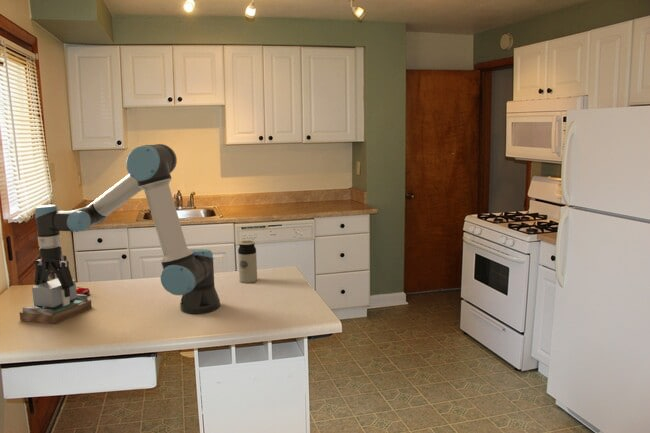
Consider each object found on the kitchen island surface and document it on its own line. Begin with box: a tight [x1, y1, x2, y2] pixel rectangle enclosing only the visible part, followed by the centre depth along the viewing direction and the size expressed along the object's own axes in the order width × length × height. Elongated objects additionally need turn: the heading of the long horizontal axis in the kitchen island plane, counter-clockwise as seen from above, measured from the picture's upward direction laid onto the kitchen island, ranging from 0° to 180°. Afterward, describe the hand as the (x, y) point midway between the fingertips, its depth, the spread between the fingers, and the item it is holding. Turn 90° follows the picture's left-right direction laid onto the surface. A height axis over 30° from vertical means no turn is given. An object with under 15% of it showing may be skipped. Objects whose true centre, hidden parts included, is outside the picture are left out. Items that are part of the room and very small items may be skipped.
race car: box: [76, 286, 90, 296], centre depth 230 cm, size 13×5×4 cm, turn 156°
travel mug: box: [237, 239, 258, 284], centre depth 249 cm, size 8×8×18 cm
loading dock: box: [18, 294, 93, 325], centre depth 211 cm, size 16×19×5 cm
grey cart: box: [31, 278, 77, 310], centre depth 210 cm, size 9×12×8 cm
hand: (56, 303), depth 211 cm, fingers closed on grey cart, 9 cm apart
